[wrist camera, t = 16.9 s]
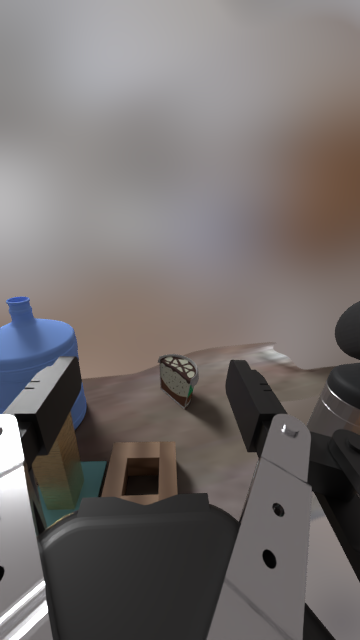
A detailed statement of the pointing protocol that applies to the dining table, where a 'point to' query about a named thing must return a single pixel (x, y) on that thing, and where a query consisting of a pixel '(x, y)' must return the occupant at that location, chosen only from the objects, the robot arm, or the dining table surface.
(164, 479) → the socket block
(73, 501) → the tan wooden peg
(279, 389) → the dining table surface
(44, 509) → the teal mat
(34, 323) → the water jug
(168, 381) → the food container
